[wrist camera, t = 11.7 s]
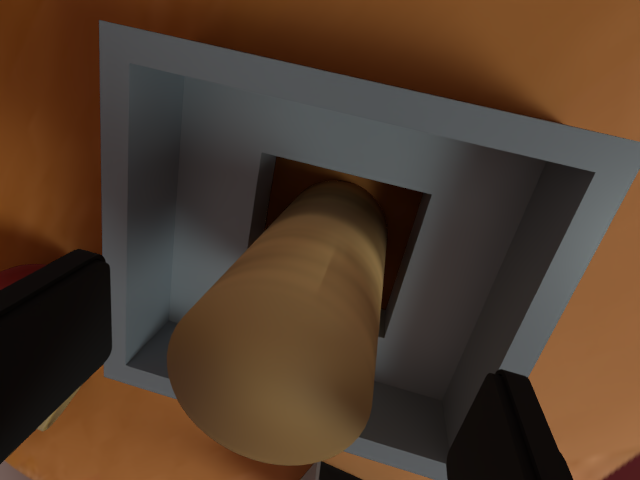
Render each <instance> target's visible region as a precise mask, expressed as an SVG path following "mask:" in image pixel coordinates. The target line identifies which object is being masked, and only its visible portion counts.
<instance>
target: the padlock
mask: <svg viewBox="0 0 640 480" xmlns="http://www.w3.org/2000/svg"><path fill="white" fill-rule="evenodd" d="M300 480H362V479H360V478H357V477H355V476H353V475H351V474H348V473H346V472H344V471H342V470H339V469H337V468H335V467H333V466H330V465H328V464H326V463H324V462H322V461H320V462H317V463H314V464H313V465H312V467H311V468H310V469H309V470H308V471H307V472H306V474H305V475H304V476H303V477H302V478H301V479H300Z"/></svg>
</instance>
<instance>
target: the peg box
mask: <svg viewBox="0 0 640 480" xmlns="http://www.w3.org/2000/svg"><path fill="white" fill-rule="evenodd" d="M99 52H100V123H101V194H102V256H103V257H104V258H105V260H106V263H108V264H109V266H110V279H111V318H112V351H111V354H110V356H109V358H108V359H107V360H106V362H105V363H104V377H107V378H110V379H113V380H116V381H120V382H123V383H126V384H129V385H133V386H136V387H139V388H142V389H145V390H149V391H152V392H155V393H158V394H161V395H165V396H168V397H171V398H174V399H177V398H176V396H175V394H174V391H173V389H172V386H171V383H170V380H169V376H168V369H167V351H168V345H169V342H170V338H171V335H172V333H173V331H174V329H175V327H176V325H177V324H178V323H179V321H180V320H181V319H182V317H183V316H184V315H185V314H186V313H187V312H188V311H189V310H190V309H191V308H192V307H193V306H194V305H195V304H196V303H197V302H198V300H199V299H200V298H201V297H202V296H203V295H204V294H205V293H206V292H207V291H208V290H209V289H210V288H211V287H212V286H213V285H214V284H215V283H216V282H217V281H218V280H219V278H220V277H221V276H222V275H223V274H224V273H225V272H226V271H227V270H228V269H229V268H230V267H231V266H232V265H233V264H234V263H235V262H236V261H237V260H238V259H239V257H240V256H241V255H242V254H243V253H244V252H245V251H246V250H247V249H248V248H249V247H250V246H251V245H252V244H253V243H254V242H255V241H256V240H257V239H258V238H259V237H260V235H261V234H262V233H263V232H264V229H265V223H266V217H267V211H268V205H269V198H270V192H271V186H272V180H273V174H274V168H275V162H276V156H278V157H282V158H286V159H290V160H295V161H299V162H303V163H307V164H311V165H315V166H319V167H323V168H327V169H331V170H335V171H339V172H343V173H347V174H351V175H355V176H359V177H363V178H367V179H371V180H375V181H379V182H383V183H387V184H391V185H395V186H399V187H403V188H407V189H411V190H416V191H420V192H424V193H423V196H422V199H421V202H420V205H419V208H418V211H417V214H416V218H415V221H414V224H413V227H412V230H411V233H410V236H409V239H408V242H407V245H406V249H405V252H404V255H403V258H402V261H401V264H400V267H399V270H398V273H397V276H396V280H395V283H394V286H393V289H392V292H391V295H390V298H389V301H388V304H387V307H386V310H384V309H381V312H380V323H379V334H378V345H377V356H376V367H375V378H374V390H373V401H372V409H371V413H370V417H369V420H368V422H367V424H366V426H365V428H364V430H363V431H362V433H361V434H360V436H359V437H358V438H357V439H356V440H355V441H354V443H353V444H352V445H350V446H349V447H348V448H347V449H345V450H344V451H345V452H348V453H351V454H354V455H357V456H361V457H364V458H367V459H370V460H373V461H377V462H380V463H383V464H386V465H390V466H393V467H396V468H399V469H402V470H406V471H409V472H412V473H415V474H418V475H422V476H425V477H428V478H431V479H434V480H448V479H447V470H446V461H447V455H448V452H449V449H450V447H451V445H452V443H453V441H454V439H455V437H456V435H457V433H458V431H459V429H460V427H461V425H462V423H463V421H464V419H465V417H466V415H467V413H468V411H469V409H470V407H471V405H472V403H473V401H474V399H475V397H476V395H477V393H478V391H479V389H480V387H481V385H482V383H483V381H484V379H485V377H486V376H487V374H488V373H493V374H495V373H496V371H497V370H499V369H503V370H506V371H510V372H513V373H517V374H520V375H524V376H526V377H529V375H530V373H531V371H532V369H533V367H534V365H535V363H536V362H537V360H538V358H539V356H540V354H541V352H542V350H543V349H544V347H545V345H546V343H547V341H548V339H549V337H550V335H551V334H552V332H553V330H554V328H555V326H556V324H557V322H558V320H559V319H560V317H561V315H562V313H563V311H564V309H565V307H566V305H567V304H568V302H569V300H570V298H571V296H572V294H573V292H574V291H575V289H576V287H577V285H578V283H579V281H580V279H581V277H582V276H583V274H584V272H585V270H586V268H587V266H588V264H589V262H590V261H591V259H592V257H593V255H594V253H595V251H596V249H597V248H598V246H599V244H600V242H601V240H602V238H603V236H604V234H605V233H606V231H607V229H608V227H609V225H610V223H611V221H612V219H613V218H614V216H615V214H616V212H617V210H618V208H619V206H620V205H621V203H622V201H623V199H624V197H625V195H626V193H627V191H628V190H629V188H630V186H631V184H632V182H633V180H634V178H635V176H636V175H637V173H638V171H639V169H640V142H638V141H633V140H629V139H625V138H620V137H616V136H612V135H608V134H603V133H599V132H595V131H590V130H586V129H582V128H577V127H573V126H569V125H565V124H560V123H556V122H551V121H547V120H542V119H538V118H534V117H529V116H525V115H520V114H516V113H511V112H507V111H503V110H498V109H494V108H489V107H485V106H480V105H476V104H472V103H467V102H463V101H458V100H454V99H449V98H445V97H441V96H436V95H432V94H427V93H423V92H418V91H414V90H410V89H405V88H401V87H396V86H392V85H387V84H383V83H379V82H374V81H370V80H365V79H361V78H356V77H352V76H347V75H343V74H339V73H334V72H330V71H325V70H321V69H316V68H312V67H308V66H303V65H299V64H294V63H290V62H285V61H281V60H277V59H272V58H268V57H263V56H259V55H254V54H250V53H246V52H241V51H237V50H232V49H228V48H223V47H219V46H215V45H210V44H206V43H201V42H197V41H192V40H188V39H183V38H179V37H174V36H170V35H165V34H160V33H156V32H151V31H147V30H142V29H138V28H133V27H129V26H124V25H119V24H115V23H110V22H106V21H101V20H99Z"/></svg>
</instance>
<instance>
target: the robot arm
mask: <svg viewBox="0 0 640 480" xmlns="http://www.w3.org/2000/svg"><path fill="white" fill-rule="evenodd" d="M111 351H112V318H111V279H110V266H109V264H108V263H106V260H105V258H104V257H103V256H102V255H100V254H96V253H93V252H89V251H85V250H82V249H77V250H74V251H72V252H70V253H68V254H66V255H65V256H63V257H61V258H59V259H57V260H55V261H53V262H52V263H50V264H48V265H46V266H44V267H42V268H40V269H39V270H37V271H35V272H33V273H31V274H29V275H27V276H26V277H24V278H22V279H20V280H18V281H16V282H14V283H13V284H11V285H9V286H7V287H5V288H3V289H1V290H0V464H1V463H2V462H3V461H4V460H5V459H6V458H7V457H8V456H9V455H10V454H11V453H12V452H13V451H14V450H15V449H16V448H17V447H18V446H19V445H20V444H21V443H22V442H23V441H24V440H26V439H27V438H28V437H29V436H30V435H31V434H32V433H33V432H34V431H35V430H36V429H37V428H38V427H39V426H40V425H41V424H42V423H43V422H44V421H45V420H46V419H47V418H48V417H49V416H50V415H51V414H52V413H53V412H54V411H55V410H56V409H57V408H58V407H59V406H61V405H62V404H63V403H64V402H65V401H66V400H67V399H68V398H69V397H70V396H71V395H72V394H73V393H74V392H75V391H76V390H77V389H78V388H79V387H80V386H81V385H82V384H83V383H84V382H85V381H86V380H87V379H88V378H89V377H90V376H91V375H92V374H93V373H94V372H96V371H97V370H98V369H99V368H100V367H101V366H102V365H103V364H104V363H105V362H106V360H107V359H108V358H109V356H110V354H111ZM446 470H447V479H448V480H573V478H572V475H571V473H570V471H569V468H568V466H567V463H566V461H565V459H564V458H563V456H562V454H561V453H560V452H559V450H558V447H557V445H556V443H555V440H554V438H553V435H552V433H551V431H550V428H549V426H548V423H547V421H546V419H545V416H544V414H543V411H542V409H541V407H540V404H539V402H538V399H537V397H536V395H535V392H534V390H533V387H532V385H531V383H530V380H529V379H528V377H526V376H524V375H520V374H517V373H513V372H510V371H506V370H503V369H499V370H497V371H496V373H495V374H493V373H488V374H487V376H486V377H485V379H484V381H483V383H482V385H481V387H480V389H479V391H478V393H477V395H476V397H475V399H474V401H473V403H472V405H471V407H470V409H469V411H468V413H467V415H466V417H465V419H464V421H463V423H462V425H461V427H460V429H459V431H458V433H457V435H456V437H455V439H454V441H453V443H452V445H451V447H450V449H449V452H448V455H447V461H446Z"/></svg>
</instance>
